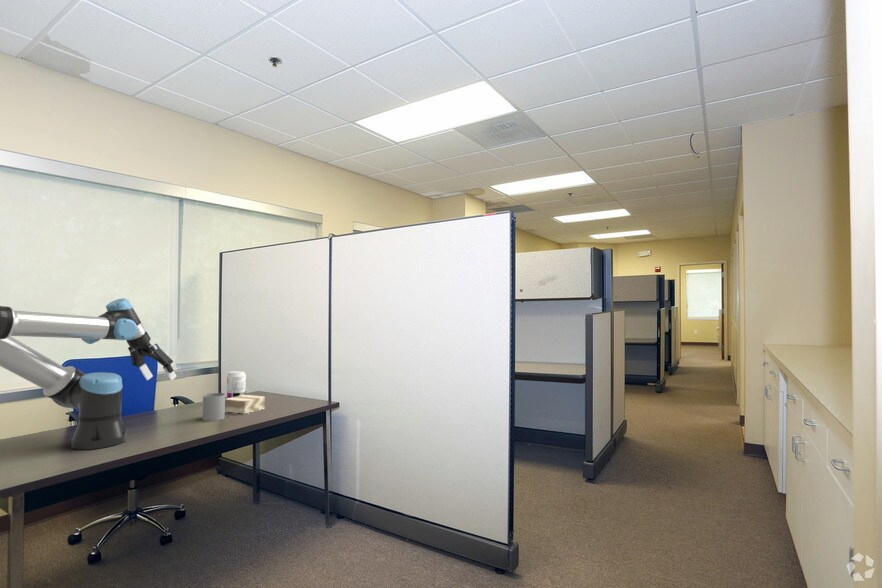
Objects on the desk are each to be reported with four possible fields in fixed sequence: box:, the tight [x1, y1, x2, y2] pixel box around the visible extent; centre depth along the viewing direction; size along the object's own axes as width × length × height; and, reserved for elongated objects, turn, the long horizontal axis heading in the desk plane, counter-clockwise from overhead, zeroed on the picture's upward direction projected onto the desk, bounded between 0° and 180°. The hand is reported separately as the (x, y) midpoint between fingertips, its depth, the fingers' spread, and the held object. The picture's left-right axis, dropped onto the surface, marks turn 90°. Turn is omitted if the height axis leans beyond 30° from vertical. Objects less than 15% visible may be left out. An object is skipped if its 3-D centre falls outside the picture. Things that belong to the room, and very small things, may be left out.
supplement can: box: [226, 370, 247, 399], centre depth 221 cm, size 8×8×15 cm
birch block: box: [225, 394, 266, 415], centre depth 205 cm, size 12×12×6 cm
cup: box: [202, 392, 226, 422], centre depth 190 cm, size 8×8×10 cm
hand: (161, 378), depth 188 cm, fingers open, 13 cm apart
